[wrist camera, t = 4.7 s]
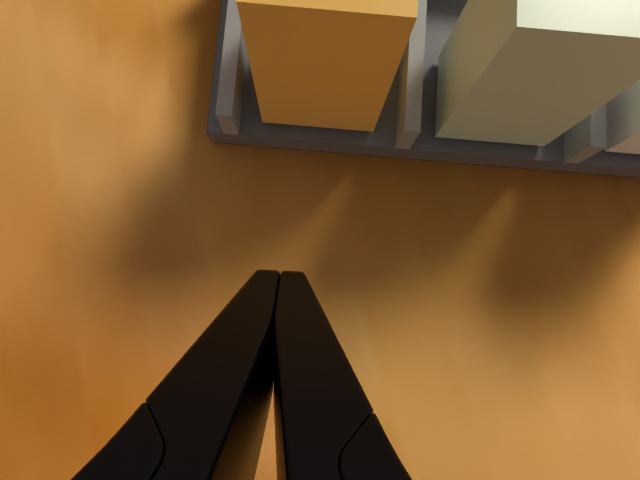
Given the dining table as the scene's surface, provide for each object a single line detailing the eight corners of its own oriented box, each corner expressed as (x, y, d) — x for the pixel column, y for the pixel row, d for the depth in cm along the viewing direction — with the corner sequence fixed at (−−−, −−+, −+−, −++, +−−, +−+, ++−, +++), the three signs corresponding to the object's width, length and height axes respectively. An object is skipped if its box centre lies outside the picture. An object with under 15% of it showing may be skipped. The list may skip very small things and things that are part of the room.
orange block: (373, 131, 21) (417, 18, 13) (262, 122, 20) (236, 1, 13) (378, 51, 21) (424, -108, 13) (270, 41, 21) (249, -124, 13)
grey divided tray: (736, 185, 22) (808, 164, 19) (211, 142, 22) (196, 112, 19) (729, 17, 23) (795, -29, 20) (230, -28, 23) (219, -82, 20)
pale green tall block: (544, 146, 21) (693, 42, 13) (434, 136, 21) (516, 26, 13) (545, 65, 21) (689, -83, 13) (438, 56, 21) (519, -98, 13)
